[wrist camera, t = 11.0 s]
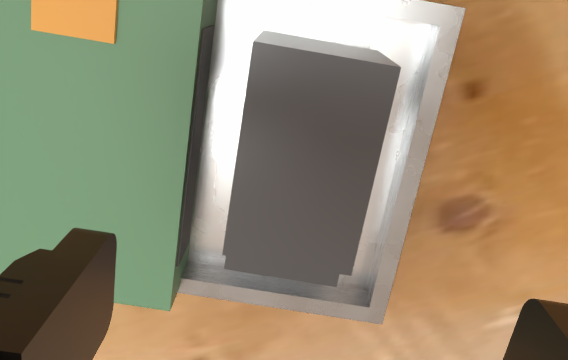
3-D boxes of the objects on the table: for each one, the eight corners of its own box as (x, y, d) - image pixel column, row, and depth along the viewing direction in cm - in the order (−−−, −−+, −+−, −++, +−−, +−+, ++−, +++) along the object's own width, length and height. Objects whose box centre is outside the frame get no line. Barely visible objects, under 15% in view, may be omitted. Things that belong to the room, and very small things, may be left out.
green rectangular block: (5, -235, 20) (-67, -291, 16) (243, -191, 20) (230, -236, 16) (9, 238, 27) (-41, 281, 23) (189, 267, 27) (171, 314, 23)
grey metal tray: (203, -37, 22) (194, -40, 20) (451, 6, 23) (465, 8, 21) (171, 269, 27) (161, 290, 25) (376, 301, 27) (382, 324, 26)
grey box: (263, 30, 23) (253, 40, 18) (378, 50, 23) (401, 67, 18) (232, 239, 26) (215, 300, 21) (332, 255, 26) (340, 320, 21)
